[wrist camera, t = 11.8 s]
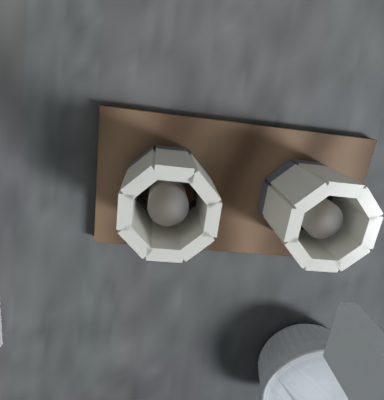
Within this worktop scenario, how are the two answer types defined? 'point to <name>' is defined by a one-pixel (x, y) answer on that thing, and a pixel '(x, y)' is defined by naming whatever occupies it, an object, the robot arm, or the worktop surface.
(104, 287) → the worktop surface
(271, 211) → the seated sleeve
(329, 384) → the ramekin
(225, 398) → the worktop surface
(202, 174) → the cream sleeve
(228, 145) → the pin board
